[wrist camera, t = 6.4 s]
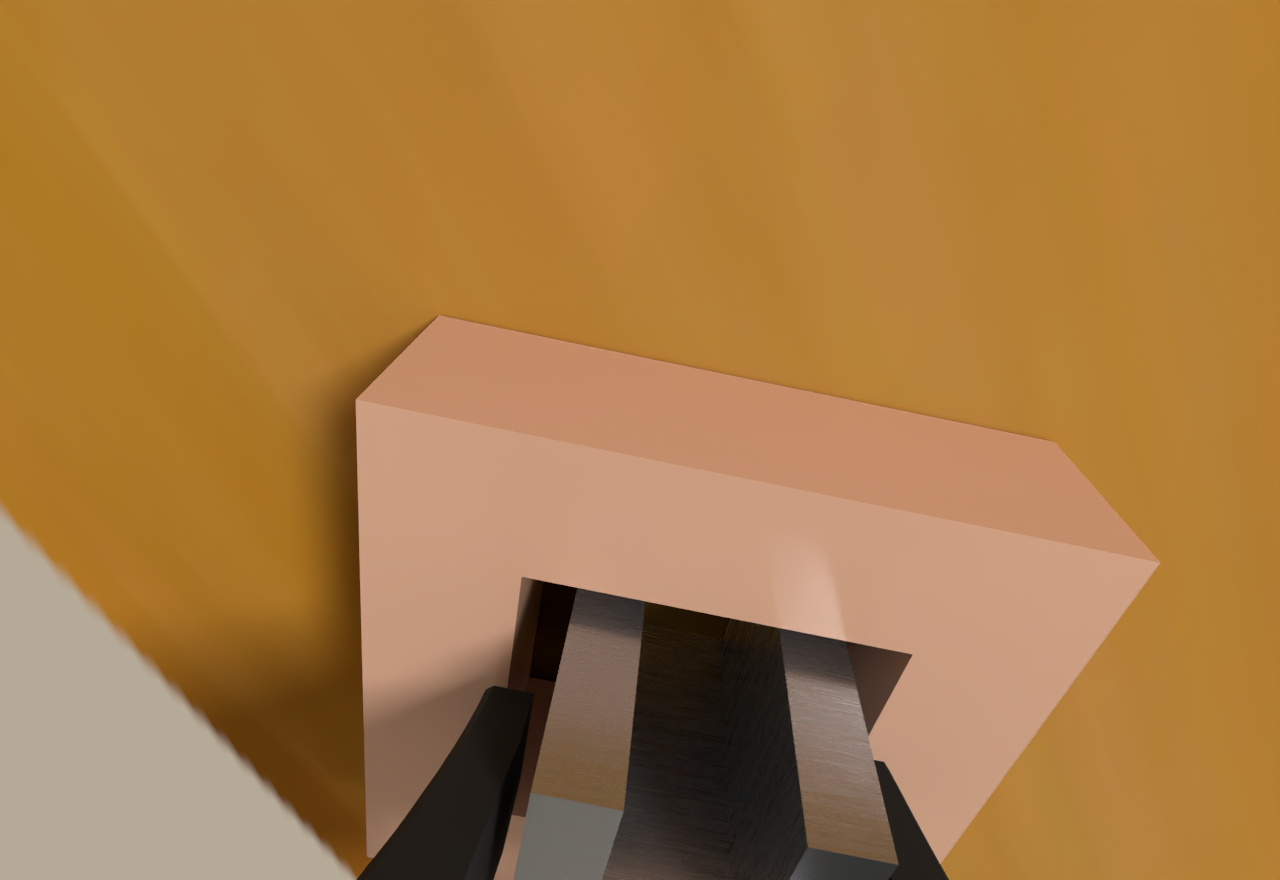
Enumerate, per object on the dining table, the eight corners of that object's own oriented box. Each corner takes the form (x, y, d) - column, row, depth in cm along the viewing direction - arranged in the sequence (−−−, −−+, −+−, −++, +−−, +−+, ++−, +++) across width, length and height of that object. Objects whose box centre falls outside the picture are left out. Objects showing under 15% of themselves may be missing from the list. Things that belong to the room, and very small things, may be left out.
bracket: (756, 674, 15) (786, 1023, 9) (569, 636, 14) (495, 969, 9) (818, 526, 13) (898, 865, 7) (602, 480, 12) (530, 792, 7)
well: (848, 807, 16) (874, 954, 14) (422, 724, 16) (366, 857, 13) (1054, 441, 11) (1160, 562, 9) (439, 315, 11) (354, 399, 8)
